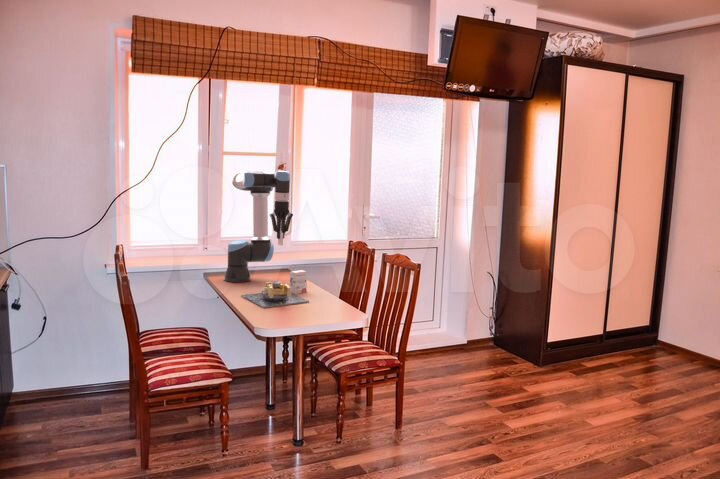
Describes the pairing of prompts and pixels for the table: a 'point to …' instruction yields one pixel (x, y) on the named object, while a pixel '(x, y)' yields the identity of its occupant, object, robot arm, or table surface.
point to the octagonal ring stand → (277, 289)
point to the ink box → (298, 281)
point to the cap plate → (273, 303)
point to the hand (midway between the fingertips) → (280, 244)
